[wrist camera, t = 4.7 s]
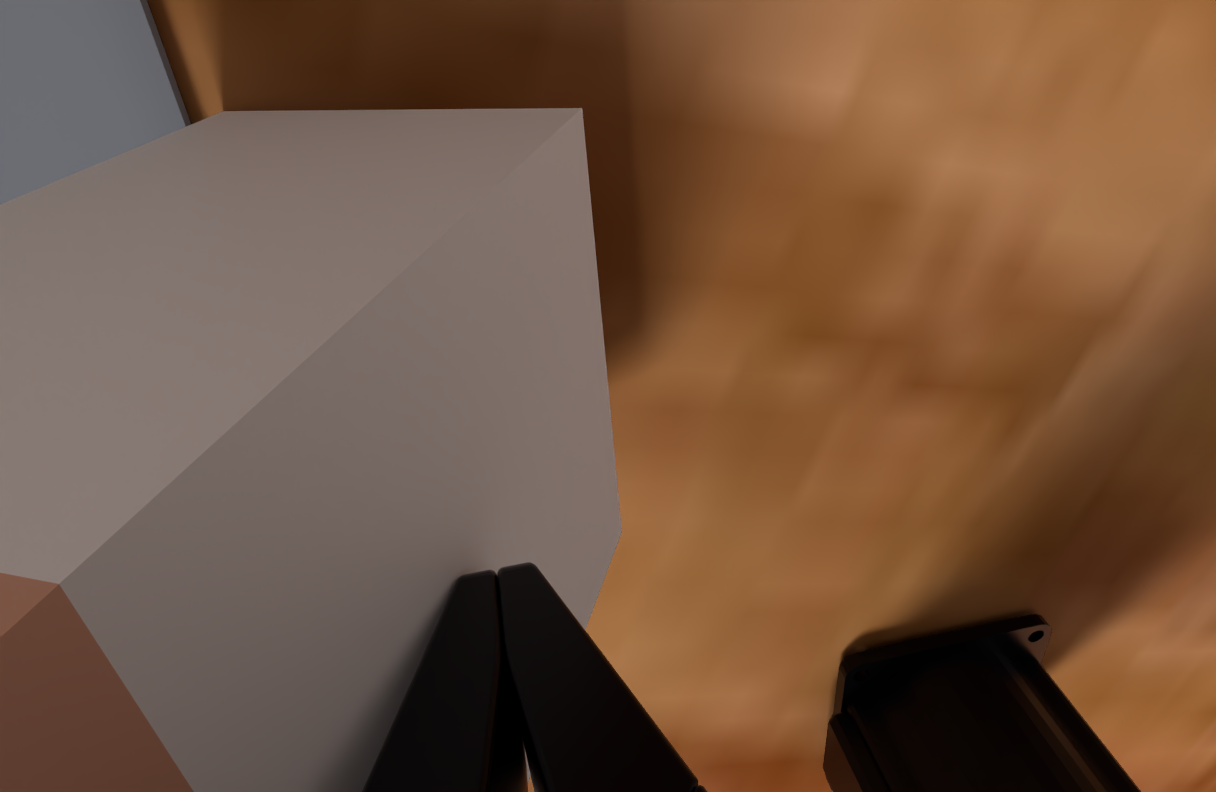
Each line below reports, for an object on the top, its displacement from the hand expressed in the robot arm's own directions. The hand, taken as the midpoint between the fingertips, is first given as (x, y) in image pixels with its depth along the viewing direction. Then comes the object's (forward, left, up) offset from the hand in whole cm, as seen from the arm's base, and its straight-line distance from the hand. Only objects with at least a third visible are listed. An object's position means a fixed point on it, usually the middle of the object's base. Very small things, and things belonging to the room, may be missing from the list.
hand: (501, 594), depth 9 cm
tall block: (+1, 0, -6) cm, 6 cm away
